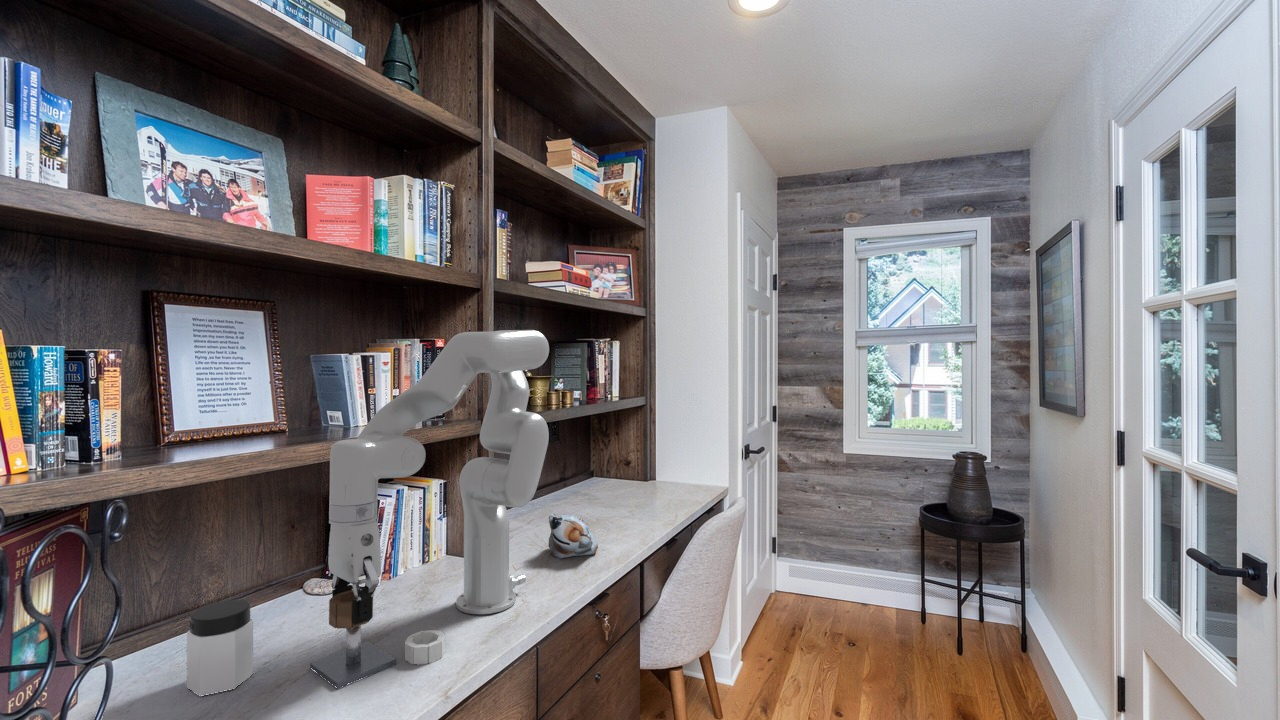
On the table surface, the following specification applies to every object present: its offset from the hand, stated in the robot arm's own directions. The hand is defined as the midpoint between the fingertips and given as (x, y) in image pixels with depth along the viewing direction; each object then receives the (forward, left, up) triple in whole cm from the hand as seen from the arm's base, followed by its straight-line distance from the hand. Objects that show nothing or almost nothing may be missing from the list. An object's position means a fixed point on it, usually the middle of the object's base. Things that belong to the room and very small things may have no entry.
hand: (351, 615), depth 103 cm
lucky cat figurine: (-66, -12, -9) cm, 68 cm away
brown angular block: (0, 0, -1) cm, 1 cm away
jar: (+16, -12, -9) cm, 22 cm away
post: (0, 0, -9) cm, 9 cm away
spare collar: (-10, +6, -9) cm, 15 cm away
